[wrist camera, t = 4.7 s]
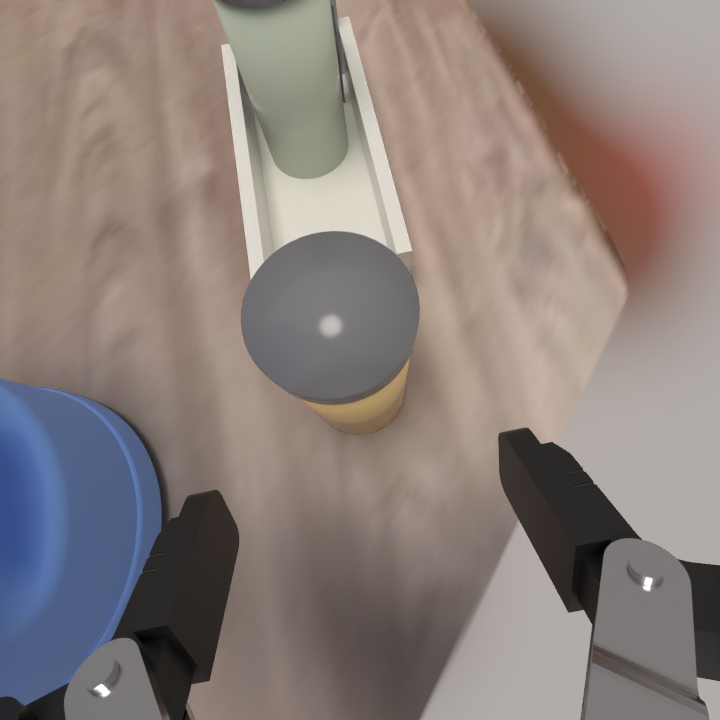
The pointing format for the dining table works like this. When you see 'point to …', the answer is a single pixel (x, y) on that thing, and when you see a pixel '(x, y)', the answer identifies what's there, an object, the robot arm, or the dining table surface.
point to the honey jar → (335, 327)
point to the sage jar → (291, 79)
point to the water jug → (66, 532)
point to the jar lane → (323, 194)
